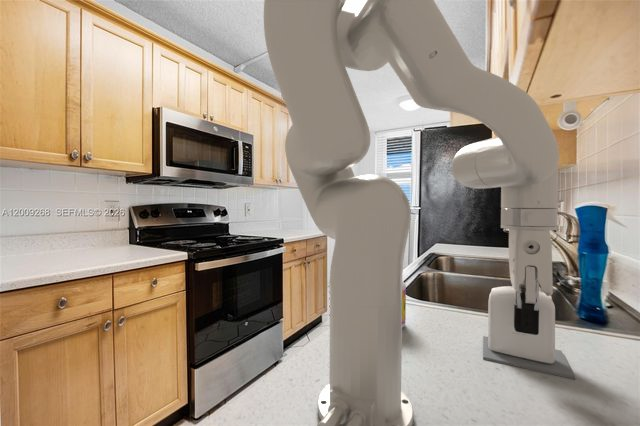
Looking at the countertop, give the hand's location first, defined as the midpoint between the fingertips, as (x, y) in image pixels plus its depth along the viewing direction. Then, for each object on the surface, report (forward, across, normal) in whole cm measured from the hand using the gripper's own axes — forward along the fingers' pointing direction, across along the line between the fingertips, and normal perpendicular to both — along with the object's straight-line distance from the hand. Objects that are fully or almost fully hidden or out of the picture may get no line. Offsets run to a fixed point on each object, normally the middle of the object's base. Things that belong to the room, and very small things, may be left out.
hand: (525, 331), depth 49 cm
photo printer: (+7, +7, 0) cm, 10 cm away
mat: (+7, +7, 0) cm, 10 cm away
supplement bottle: (+7, +10, +25) cm, 28 cm away
